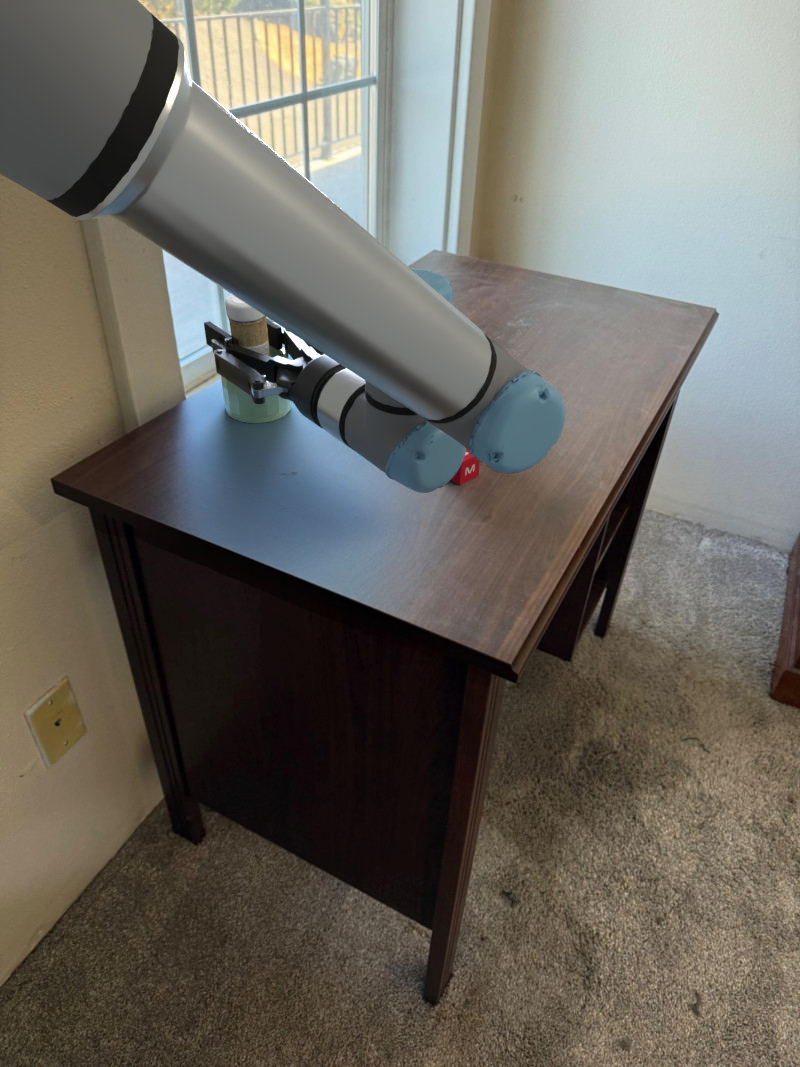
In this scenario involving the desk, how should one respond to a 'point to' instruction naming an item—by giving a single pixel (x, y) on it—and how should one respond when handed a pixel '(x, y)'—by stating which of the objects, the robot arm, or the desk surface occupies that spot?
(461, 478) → the red letter m cube
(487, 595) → the desk surface
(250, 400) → the holder
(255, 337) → the sprinkles bottle
